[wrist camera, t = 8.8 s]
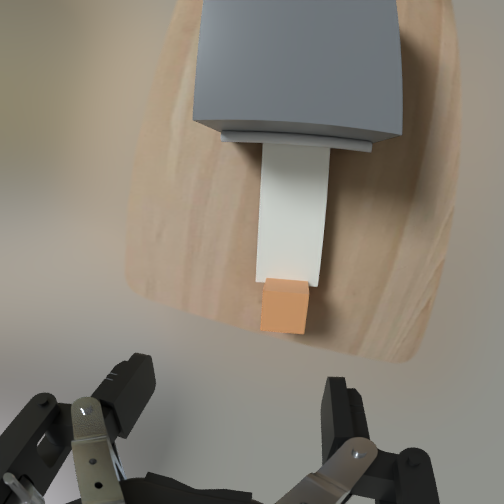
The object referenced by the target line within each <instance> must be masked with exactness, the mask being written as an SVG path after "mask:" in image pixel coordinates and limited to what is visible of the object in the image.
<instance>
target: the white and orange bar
mask: <svg viewBox="0 0 504 504" xmlns="http://www.w3.org/2000/svg"><path fill="white" fill-rule="evenodd" d="M329 159H330V148H327V147H317V146H305V145H291V144H275V143H263V150H262V170H261V190H260V209H259V228H258V247H257V266H256V282H265V285H264V289H263V298H262V313H261V328H260V330H261V331H271V332H283V333H295V334H304V331H305V323H306V316H307V308H308V300H309V287H308V286H313V287H318V280H319V272H320V263H321V254H322V245H323V235H324V224H325V213H326V202H327V189H328V175H329Z"/></svg>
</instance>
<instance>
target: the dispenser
mask: <svg viewBox="0 0 504 504" xmlns="http://www.w3.org/2000/svg"><path fill="white" fill-rule="evenodd" d="M402 117H403V93H402V62H401V46H400V34H399V23H398V14H397V6H396V0H203V8H202V17H201V25H200V35H199V44H198V55H197V66H196V78H195V91H194V106H193V120H194V121H196V122H198V123H201V124H203V125H205V126H207V127H210V128H212V129H214V130H216V131H219V132H221V141H222V142H253V143H275V144H291V145H305V146H317V147H327V148H337V149H346V150H355V151H363V152H371V151H372V143H375V142H379V141H382V140H386V139H389V138H393V137H397V136H400V135H402Z"/></svg>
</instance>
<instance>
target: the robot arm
mask: <svg viewBox="0 0 504 504" xmlns="http://www.w3.org/2000/svg"><path fill="white" fill-rule="evenodd" d="M155 386H156V379H155V374H154V368H153V363H152V358H151V356H150V355H145V354H139V353H134V354H133V355H132V356H131V358H130V359H129V360H128V361H122V362H121V363H119V364H117V365H116V366H115V367H114V368H113V370H112V371H111V372H110V374H108V375H107V377H106V379H104V381H103V382H102V383H101V384H100V385H99V387H98V388H97V389H96V390H95V392H94V393H93V394H92V396H91V397H82V398H79V399H77V400H76V401H74V402H73V404H64V403H57V401H56V398H55V397H54V395H52V394H50V393H39V394H37V395H35V396H34V397H33V398H32V399H31V400H30V401H29V402H28V403H27V405H26V406H25V407H24V408H23V409H22V410H21V412H20V413H19V414H18V415H17V416H16V418H15V419H14V420H13V421H12V422H11V424H10V425H9V426H8V427H7V428H6V430H5V431H4V432H3V433H2V435H1V436H0V504H45V501H44V498H43V496H44V495H45V493H46V491H47V489H48V488H49V486H50V484H51V482H52V481H53V479H54V478H55V476H56V474H57V473H58V471H59V469H60V468H61V466H62V464H63V463H64V461H65V459H66V458H67V456H68V454H69V453H70V451H71V450H72V453H73V459H74V465H75V471H76V476H77V481H78V487H79V491H80V496H81V498H79V499H77V500H74V501H72V502H69V503H66V504H263V503H260V502H258V501H256V500H253V499H252V493H251V492H243V491H235V490H228V489H208V490H207V489H205V490H199V489H194V488H192V487H190V486H187V485H185V484H183V483H181V482H179V481H177V480H175V479H173V478H169V477H165V476H162V475H158V474H154V473H151V472H148V473H147V475H146V477H145V478H130V479H127V478H126V475H125V473H124V469H123V466H122V463H121V460H120V456H119V453H118V450H117V447H116V443H115V439H116V438H117V436H119V437H122V438H124V439H126V438H127V437H128V435H129V433H130V432H131V430H132V428H133V426H134V425H135V423H136V421H137V420H138V418H139V416H140V414H141V413H142V411H143V410H144V408H145V406H146V404H147V403H148V401H149V399H150V398H151V396H152V394H153V393H154V390H155ZM321 432H322V467H321V468H320V469H319V470H318V471H317V472H316V473H310V474H308V475H307V476H306V477H305V478H303V479H302V480H301V481H300V482H299V483H298V484H297V485H296V486H295V487H294V488H293V489H291V490H290V491H289V492H288V493H287V494H285V495H284V496H283V497H282V498H281V499H280V500H278V501H277V502H276V503H275V504H347V503H348V501H349V500H350V499H351V498H352V497H353V496H354V495H358V496H362V497H367V498H372V499H375V504H440V503H439V497H438V492H437V487H436V482H435V478H434V473H433V469H432V465H431V460H430V457H429V455H428V454H427V453H426V452H425V451H423V450H422V449H419V448H407V449H405V450H403V451H402V452H400V454H394V453H389V452H384V451H381V450H379V449H378V448H377V447H376V445H375V444H374V443H373V442H372V441H370V437H369V432H368V427H367V421H366V417H365V414H364V407H363V402H362V397H361V395H360V394H359V393H358V392H357V390H356V389H355V388H354V389H353V388H352V389H350V388H347V387H346V381H345V378H344V377H328V378H327V381H326V385H325V391H324V395H323V399H322V404H321ZM44 433H45V437H44V438H43V439H42V441H41V442H40V444H39V445H38V446H37V444H38V442H39V440H40V439H41V438H42V436H43V435H44Z"/></svg>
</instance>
